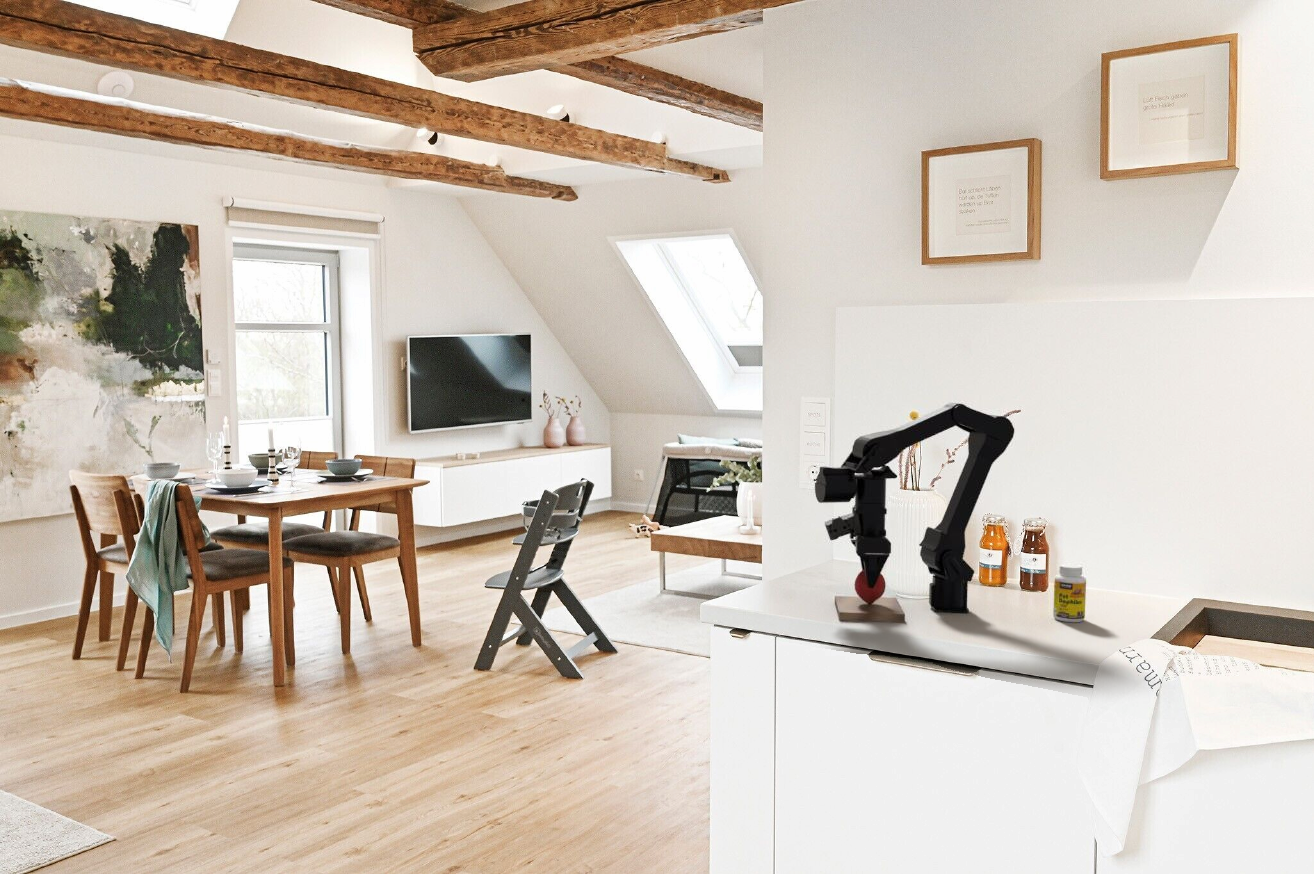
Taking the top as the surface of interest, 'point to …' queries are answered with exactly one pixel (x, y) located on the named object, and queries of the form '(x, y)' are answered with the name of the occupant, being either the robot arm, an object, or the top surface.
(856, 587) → the onion
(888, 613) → the walnut board
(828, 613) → the top surface
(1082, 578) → the supplement bottle
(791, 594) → the top surface
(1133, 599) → the top surface
